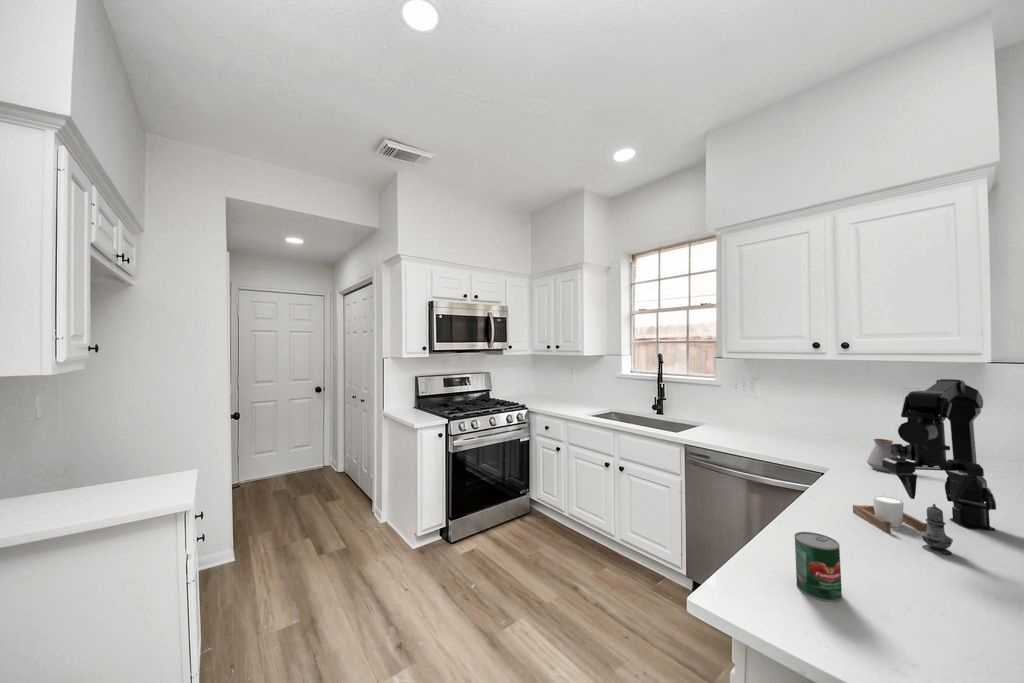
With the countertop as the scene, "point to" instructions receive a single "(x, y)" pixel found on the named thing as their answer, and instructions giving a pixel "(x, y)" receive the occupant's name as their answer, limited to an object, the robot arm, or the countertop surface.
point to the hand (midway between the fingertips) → (932, 499)
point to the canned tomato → (818, 566)
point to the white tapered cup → (889, 510)
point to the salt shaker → (936, 533)
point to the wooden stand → (869, 516)
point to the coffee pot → (881, 454)
